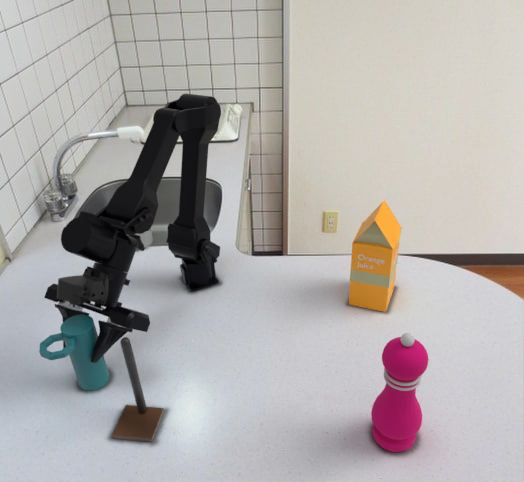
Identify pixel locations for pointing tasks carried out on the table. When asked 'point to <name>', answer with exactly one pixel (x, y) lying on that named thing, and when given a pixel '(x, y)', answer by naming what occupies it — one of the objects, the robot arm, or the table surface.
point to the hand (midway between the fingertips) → (79, 356)
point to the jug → (79, 351)
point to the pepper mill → (399, 394)
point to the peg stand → (136, 417)
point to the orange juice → (375, 260)
